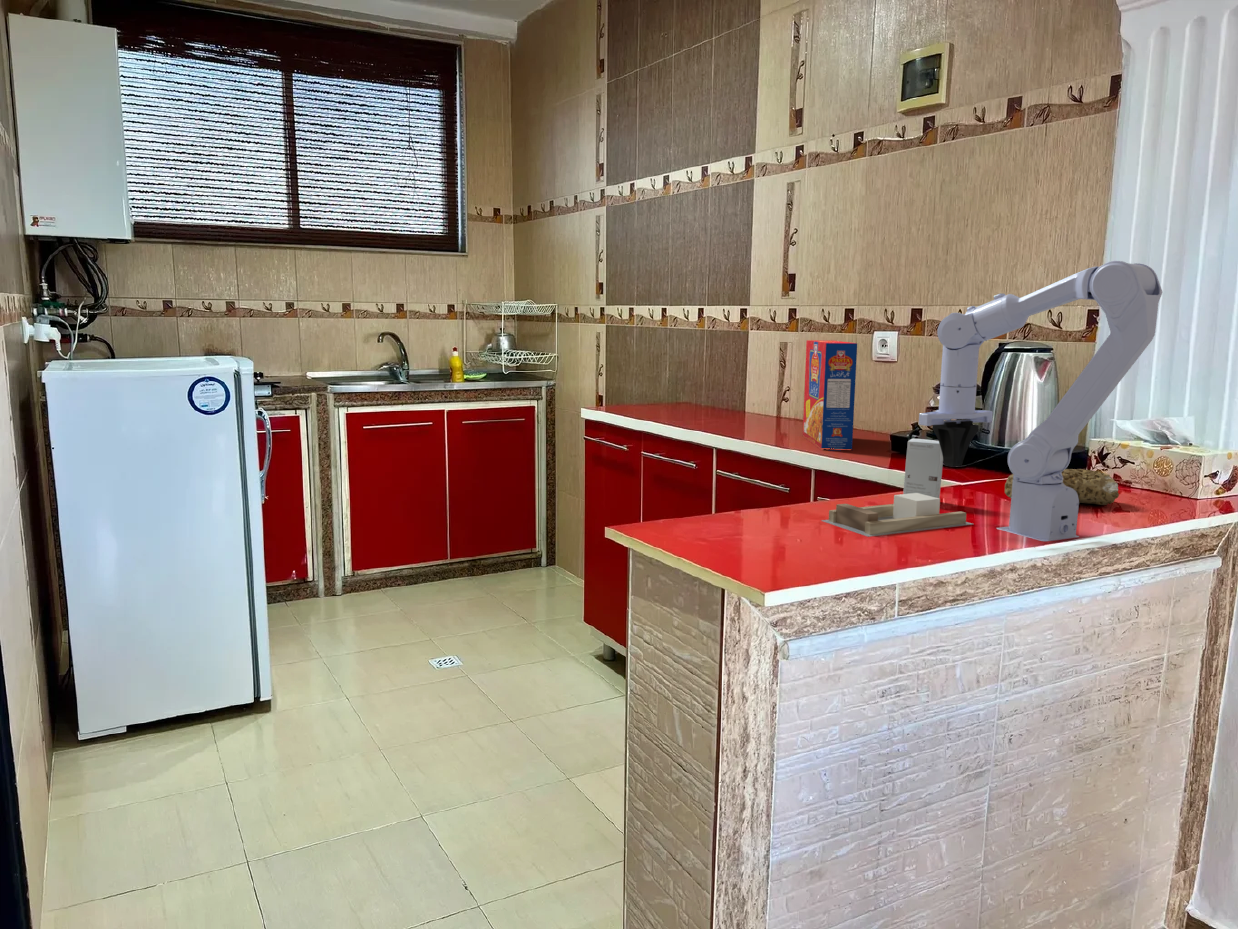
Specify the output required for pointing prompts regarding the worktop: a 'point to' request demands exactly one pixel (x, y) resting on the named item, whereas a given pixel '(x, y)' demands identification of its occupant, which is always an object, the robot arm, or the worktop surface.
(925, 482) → the skincare box
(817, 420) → the pasta box
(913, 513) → the block
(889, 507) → the guide rails
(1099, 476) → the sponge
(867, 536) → the track board
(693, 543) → the worktop surface
